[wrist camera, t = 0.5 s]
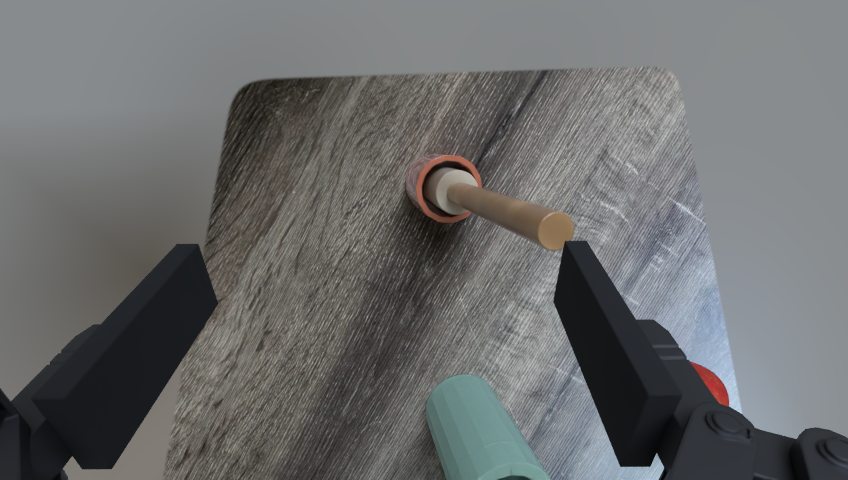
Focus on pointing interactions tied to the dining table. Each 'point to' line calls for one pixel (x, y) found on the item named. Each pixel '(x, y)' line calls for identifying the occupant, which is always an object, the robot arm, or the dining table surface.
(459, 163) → the cup
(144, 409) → the robot arm
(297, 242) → the dining table surface
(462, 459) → the green cylindrical holder
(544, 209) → the tan long rod
